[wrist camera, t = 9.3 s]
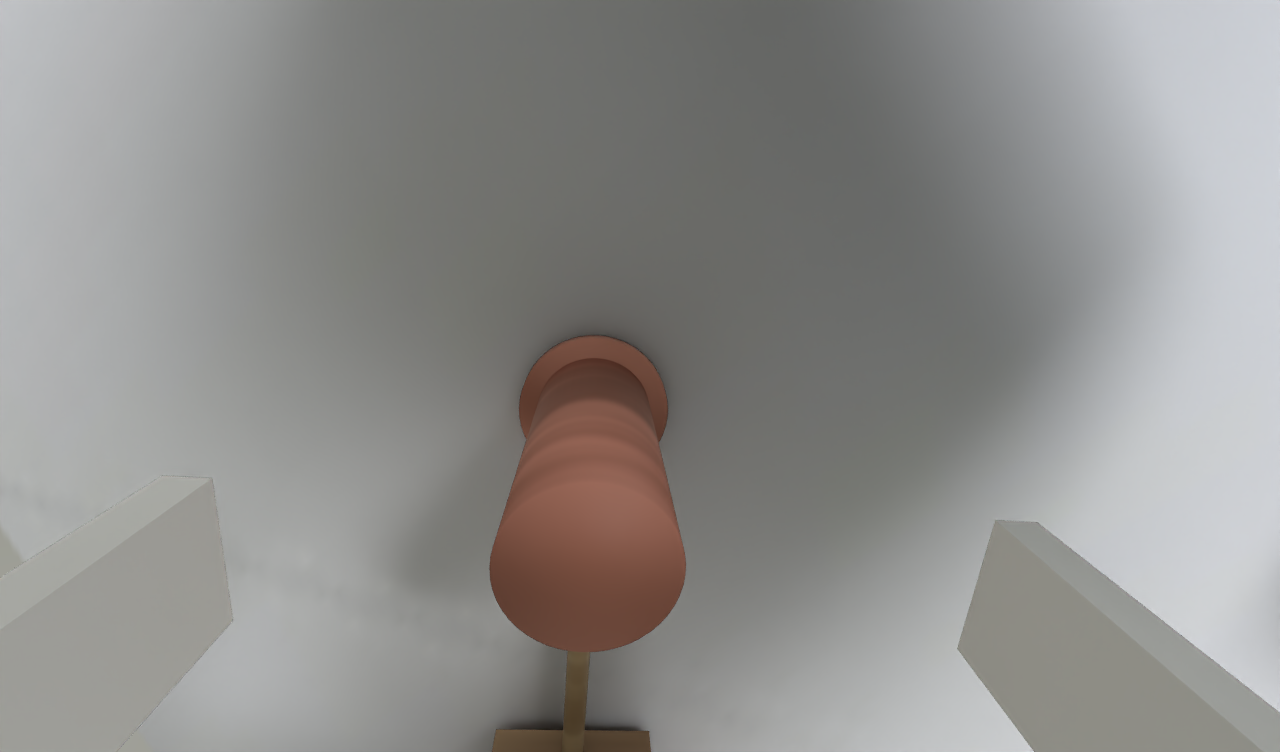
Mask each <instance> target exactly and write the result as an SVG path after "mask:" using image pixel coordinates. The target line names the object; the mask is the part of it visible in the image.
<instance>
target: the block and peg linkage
mask: <svg viewBox="0 0 1280 752" xmlns="http://www.w3.org/2000/svg"><path fill="white" fill-rule="evenodd" d="M667 414H668V405H667V397H666V393H665V389H664V386H663V383H662V380H661V378H660V376H659V374H658V372H657V370H656V368H655V367H654V365H653V364H652V363H651V362H650V360H649V359H648V358H647V357H646V356H645V355H644V354H643V353H642V352H640V351H639V350H638V349H636V348H635V347H633V346H631V345H630V344H628V343H626V342H623V341H621V340H618V339H615V338H611V337H607V336H599V335H589V336H581V337H576V338H572V339H569V340H566V341H564V342H561V343H560V344H558V345H556V346H554V347H552V348H551V349H550V350H548V351H547V352H546V353H545V354H544V355H543V356H542V357H541V358H540V359H539V360H538V361H537V362H536V363H535V365H534V366H533V367H532V369H531V371H530V373H529V374H528V376H527V379H526V381H525V384H524V386H523V389H522V392H521V396H520V404H519V417H520V422H521V427H522V430H523V433H524V435H525V437H526V439H527V440H526V443H525V446H524V449H523V452H522V456H521V459H520V462H519V465H518V468H517V472H516V475H515V478H514V481H513V484H512V487H511V491H510V494H509V497H508V500H507V503H506V507H505V510H504V513H503V516H502V519H501V523H500V526H499V529H498V532H497V535H496V539H495V542H494V545H493V549H492V553H491V557H490V568H489V569H490V581H491V585H492V590H493V593H494V595H495V598H496V600H497V602H498V604H499V606H500V608H501V609H502V611H503V612H504V614H505V615H506V616H507V618H508V619H509V620H510V621H511V622H512V623H513V624H514V625H515V626H516V627H517V628H518V629H520V630H521V631H522V632H523V633H525V634H526V635H528V636H529V637H531V638H533V639H535V640H536V641H538V642H541V643H543V644H545V645H548V646H551V647H554V648H557V649H561V650H567V651H568V652H567V669H566V687H565V704H564V721H563V730H505V729H496V733H495V738H494V743H493V748H492V752H651V747H650V736H649V731H601V730H585V717H586V702H587V688H588V674H589V660H590V652H598V651H605V650H610V649H614V648H618V647H621V646H624V645H627V644H629V643H632V642H634V641H636V640H638V639H640V638H642V637H643V636H645V635H646V634H648V633H649V632H651V631H652V630H653V629H654V628H655V627H657V626H658V625H659V624H660V623H661V622H662V621H663V620H664V619H665V618H666V617H667V615H668V614H669V613H670V611H671V610H672V609H673V607H674V606H675V604H676V602H677V600H678V598H679V596H680V593H681V590H682V588H683V584H684V579H685V571H686V561H685V552H684V548H683V544H682V539H681V535H680V531H679V527H678V523H677V518H676V514H675V510H674V506H673V502H672V497H671V493H670V489H669V485H668V481H667V476H666V472H665V468H664V464H663V460H662V455H661V451H660V447H659V441H660V439H661V437H662V435H663V433H664V429H665V426H666V421H667Z"/></svg>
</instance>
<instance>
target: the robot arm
mask: <svg viewBox="0 0 1280 752" xmlns="http://www.w3.org/2000/svg"><path fill="white" fill-rule="evenodd" d="M232 621H233V616H232V609H231V602H230V596H229V589H228V582H227V575H226V568H225V561H224V555H223V548H222V541H221V534H220V527H219V521H218V514H217V507H216V500H215V493H214V486H213V480H212V478H200V477H182V476H163V475H162V476H161V477H159V478H157V479H156V480H154V481H153V482H151V483H149V484H148V485H146V486H145V487H143V488H142V489H140V490H138V491H137V492H135V493H134V494H132V495H130V496H129V497H127V498H126V499H124V500H122V501H121V502H119V503H118V504H116V505H115V506H113V507H111V508H110V509H108V510H107V511H105V512H103V513H102V514H100V515H99V516H97V517H95V518H94V519H92V520H91V521H89V522H88V523H86V524H84V525H83V526H81V527H80V528H78V529H76V530H75V531H73V532H72V533H70V534H68V535H67V536H65V537H64V538H62V539H61V540H59V541H57V542H56V543H54V544H53V545H51V546H49V547H48V548H46V549H45V550H43V551H41V552H40V553H38V554H37V555H35V556H34V557H32V558H30V559H29V560H27V561H26V562H24V563H22V564H21V565H20V566H18V567H16V568H14V569H13V570H11V571H10V572H8V573H7V574H5V575H3V576H2V577H0V752H117V751H118V750H119V749H120V748H121V746H122V745H123V744H124V743H125V742H126V741H127V740H128V739H129V737H130V736H131V735H132V734H133V733H134V732H135V731H136V730H137V728H138V727H139V726H140V725H141V724H142V723H143V722H144V721H145V719H146V718H147V717H148V716H149V715H150V714H151V713H152V712H153V710H154V709H155V708H156V707H157V706H158V705H159V704H160V703H161V701H162V700H163V699H164V698H165V697H166V696H167V695H168V693H169V692H170V691H171V690H172V689H173V688H174V687H175V686H176V684H177V683H178V682H179V681H180V680H181V679H182V678H183V677H184V675H185V674H186V673H187V672H188V671H189V670H190V669H191V668H192V666H193V665H194V664H195V663H196V662H197V661H198V660H199V659H200V657H201V656H202V655H203V654H204V653H205V652H206V651H207V650H208V648H209V647H210V646H211V645H212V644H213V643H214V642H215V641H216V639H217V638H218V637H219V636H220V635H221V634H222V633H223V631H224V630H225V629H226V628H227V627H228V626H229V625H230V624H231V622H232ZM957 649H958V650H959V652H960V653H961V654H962V656H963V657H964V658H965V660H966V661H967V662H968V664H969V665H970V666H971V668H972V669H973V670H974V672H975V673H976V674H977V676H978V677H979V678H980V680H981V681H982V682H983V684H984V685H985V686H986V688H987V689H988V690H989V692H990V693H991V695H992V696H993V697H994V699H995V700H996V701H997V703H998V704H999V705H1000V707H1001V708H1002V709H1003V711H1004V712H1005V713H1006V715H1007V716H1008V717H1009V719H1010V720H1011V721H1012V723H1013V724H1014V725H1015V727H1016V728H1017V729H1018V731H1019V732H1020V733H1021V735H1022V736H1023V737H1024V739H1025V740H1026V741H1027V743H1028V744H1029V745H1030V747H1031V748H1032V749H1033V751H1034V752H1280V712H1278V711H1277V710H1276V709H1275V708H1273V707H1272V706H1271V705H1269V704H1268V703H1267V702H1266V701H1264V700H1263V699H1262V698H1261V697H1259V696H1258V695H1257V694H1255V693H1254V692H1253V691H1252V690H1250V689H1249V688H1248V687H1247V686H1245V685H1244V684H1243V683H1241V682H1240V681H1239V680H1238V679H1236V678H1235V677H1234V676H1233V675H1231V674H1230V673H1229V672H1227V671H1226V670H1225V669H1224V668H1222V667H1221V666H1220V665H1218V664H1217V663H1216V662H1215V661H1213V660H1212V659H1211V658H1210V657H1208V656H1207V655H1206V654H1204V653H1203V652H1202V651H1201V650H1199V649H1198V648H1197V647H1196V646H1194V645H1193V644H1192V643H1190V642H1189V641H1188V640H1187V639H1185V638H1184V637H1183V636H1182V635H1180V634H1179V633H1178V632H1176V631H1175V630H1174V629H1173V628H1171V627H1170V626H1169V625H1167V624H1166V623H1165V622H1164V621H1162V620H1161V619H1160V618H1159V617H1157V616H1156V615H1155V614H1153V613H1152V612H1151V611H1150V610H1148V609H1147V608H1146V607H1145V606H1143V605H1142V604H1141V603H1139V602H1138V601H1137V600H1136V599H1134V598H1133V597H1132V596H1131V595H1129V594H1128V593H1127V592H1125V591H1124V590H1123V589H1122V588H1120V587H1119V586H1118V585H1116V584H1115V583H1114V582H1113V581H1111V580H1110V579H1109V578H1108V577H1106V576H1105V575H1104V574H1102V573H1101V572H1100V571H1099V570H1097V569H1096V568H1095V567H1094V566H1092V565H1091V564H1090V563H1088V562H1087V561H1086V560H1085V559H1083V558H1082V557H1081V556H1080V555H1078V554H1077V553H1076V552H1074V551H1073V550H1072V549H1071V548H1069V547H1068V546H1067V545H1065V544H1064V543H1063V542H1062V541H1060V540H1059V539H1058V538H1057V537H1055V536H1054V535H1053V534H1051V533H1050V532H1049V531H1048V530H1046V529H1045V528H1044V527H1043V526H1041V525H1040V524H1039V523H1037V522H1022V521H1004V520H995V523H994V527H993V530H992V533H991V537H990V540H989V543H988V547H987V550H986V553H985V557H984V560H983V563H982V567H981V570H980V574H979V577H978V580H977V584H976V587H975V590H974V594H973V597H972V600H971V604H970V607H969V610H968V614H967V617H966V621H965V624H964V627H963V631H962V634H961V637H960V641H959V644H958V647H957Z"/></svg>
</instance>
